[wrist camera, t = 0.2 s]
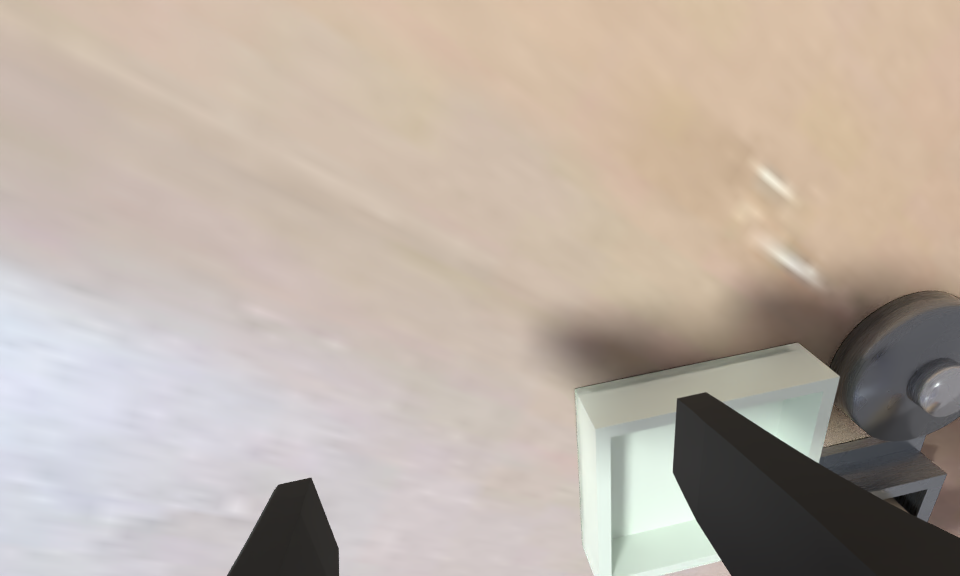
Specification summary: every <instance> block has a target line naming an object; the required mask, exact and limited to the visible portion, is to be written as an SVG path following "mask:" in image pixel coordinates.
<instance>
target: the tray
mask: <svg viewBox="0 0 960 576" xmlns="http://www.w3.org/2000/svg"><path fill="white" fill-rule="evenodd" d="M839 379H840V376H839V375H838V374H836V373H835V372H834V371H833V370H831V369H830V368H829V367H828V366H826V365H825V364H824V363H823V362H821V361H820V360H819V359H818V358H817V357H815V356H814V355H813V354H812V353H810V352H809V351H808V350H807V349H805V348H804V347H803V346H802V345H800V344H799V343H793V344H788V345H784V346H779V347H774V348H769V349H764V350H760V351H755V352H750V353H745V354H740V355H736V356H731V357H726V358H721V359H716V360H711V361H707V362H702V363H697V364H692V365H687V366H683V367H678V368H673V369H668V370H663V371H659V372H654V373H649V374H644V375H639V376H634V377H630V378H625V379H620V380H615V381H610V382H606V383H601V384H596V385H591V386H586V387H582V388H577V389H575V404H576V425H577V446H578V467H579V489H580V510H581V531H582V545H583V548H584V551H585V553H586V556H587V559H588V561H589V564H590V567H591V569H592V572H593V574H594V576H661V575H665V574H669V573H673V572H677V571H681V570H685V569H689V568H694V567H698V566H702V565H706V564H710V563H714V562H718V561H722V560H721V559H720V557H719V556H718V554H717V553H716V551H715V549H714V548H713V546H712V545H711V543H710V542H709V540H708V538H707V537H706V535H705V534H704V532H703V531H702V529H701V527H700V526H699V524H698V523H697V521H696V519H695V517H694V515H693V513H692V511H691V509H690V507H689V505H688V503H687V501H686V499H685V497H684V495H683V493H682V491H681V489H680V487H679V485H678V483H677V481H676V479H675V476H674V474H673V456H674V439H675V423H676V406H677V398H681V397H686V396H690V395H695V394H700V393H704V392H707V393H708V394H710V395H712V396H713V397H715V398H716V399H718V400H720V401H721V402H723V403H724V404H726V405H727V406H729V407H730V408H732V409H734V410H735V411H737V412H738V413H740V414H741V415H743V416H744V417H746V418H747V419H749V420H750V421H752V422H753V423H755V424H757V425H758V426H760V427H761V428H763V429H764V430H766V431H767V432H769V433H771V434H772V435H774V436H775V437H777V438H778V439H780V440H782V441H783V442H785V443H786V444H788V445H790V446H791V447H793V448H794V449H796V450H798V451H799V452H801V453H802V454H804V455H806V456H807V457H809V458H811V459H812V460H814V461H816V462H817V463H819V460H820V456H821V452H822V448H823V444H824V440H825V436H826V432H827V428H828V423H829V419H830V415H831V411H832V407H833V403H834V399H835V395H836V391H837V387H838V383H839Z"/></svg>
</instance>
